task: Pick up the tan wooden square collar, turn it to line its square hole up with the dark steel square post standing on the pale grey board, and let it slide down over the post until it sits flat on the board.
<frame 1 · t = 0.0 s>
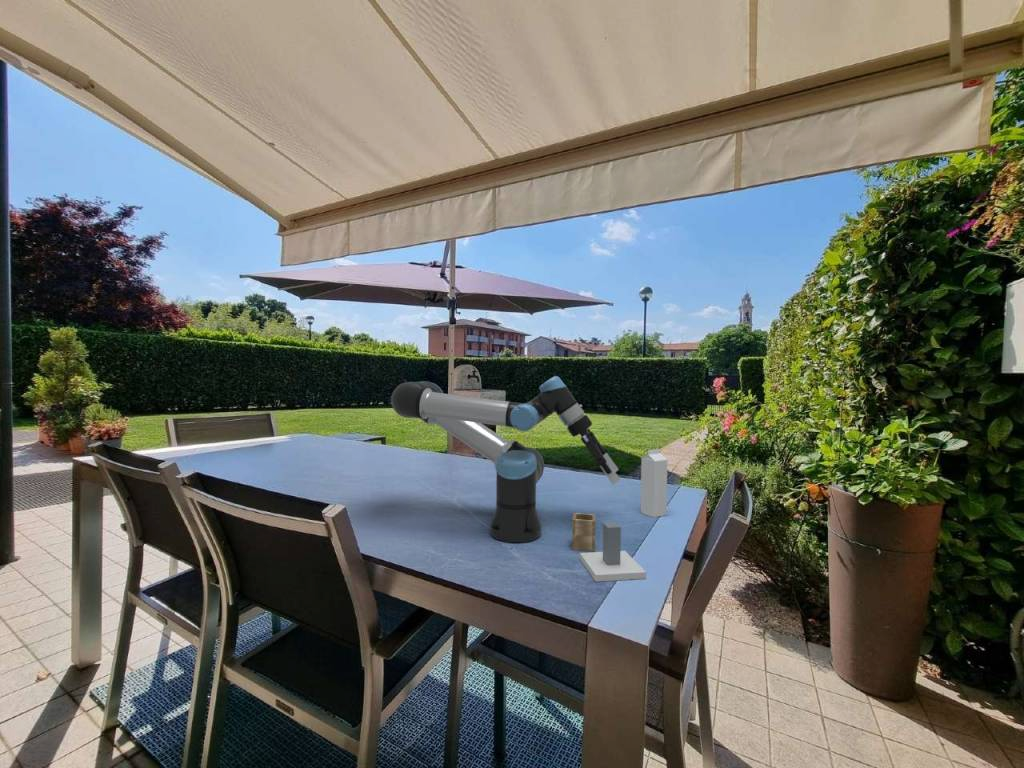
hand: (615, 476, 130), 15 cm above the table, tool tilted 35°, fingers open, 13 cm apart
collar: (583, 546, 114), on the table
post board: (611, 568, 101), on the table
milk: (653, 514, 142), on the table
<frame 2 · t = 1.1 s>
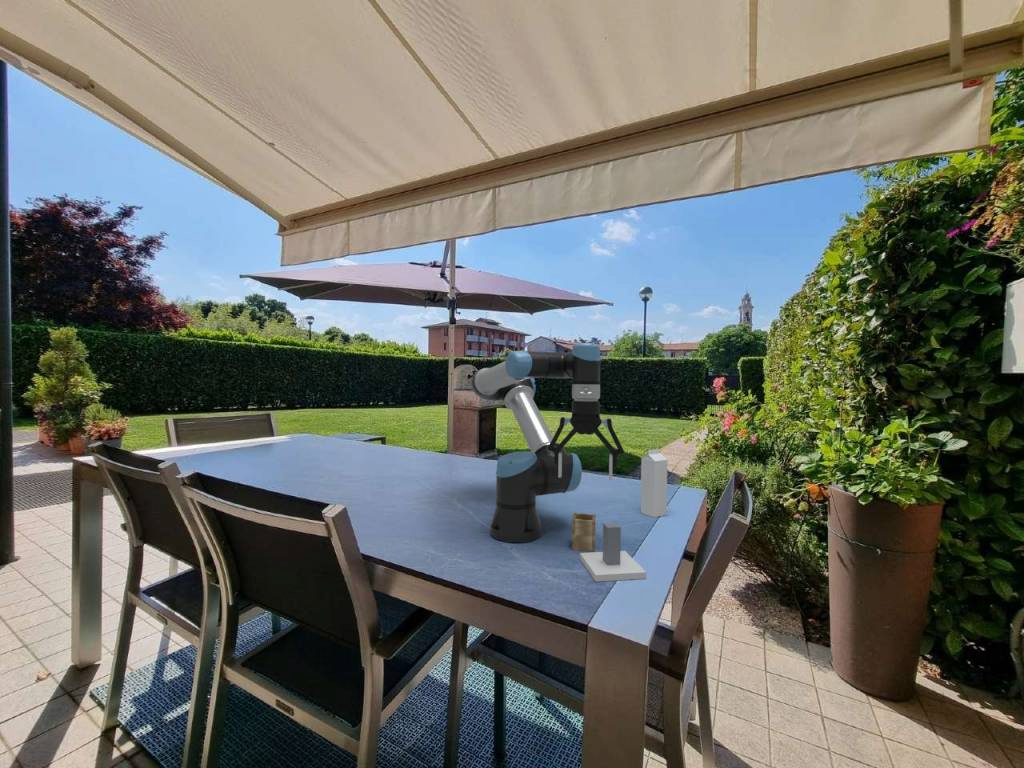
hand: (585, 477, 114), 19 cm above the table, tool pointing down, fingers open, 13 cm apart
nothing on the table moved.
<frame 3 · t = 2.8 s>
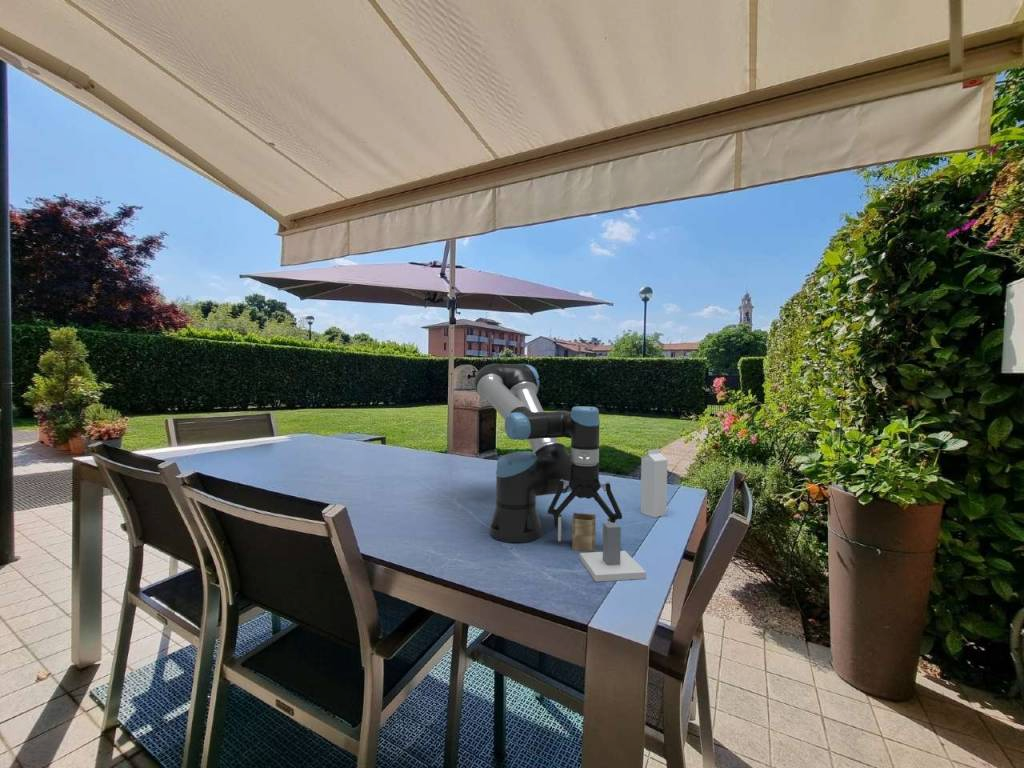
hand: (584, 541, 114), 1 cm above the table, tool pointing down, fingers open, 12 cm apart
nothing on the table moved.
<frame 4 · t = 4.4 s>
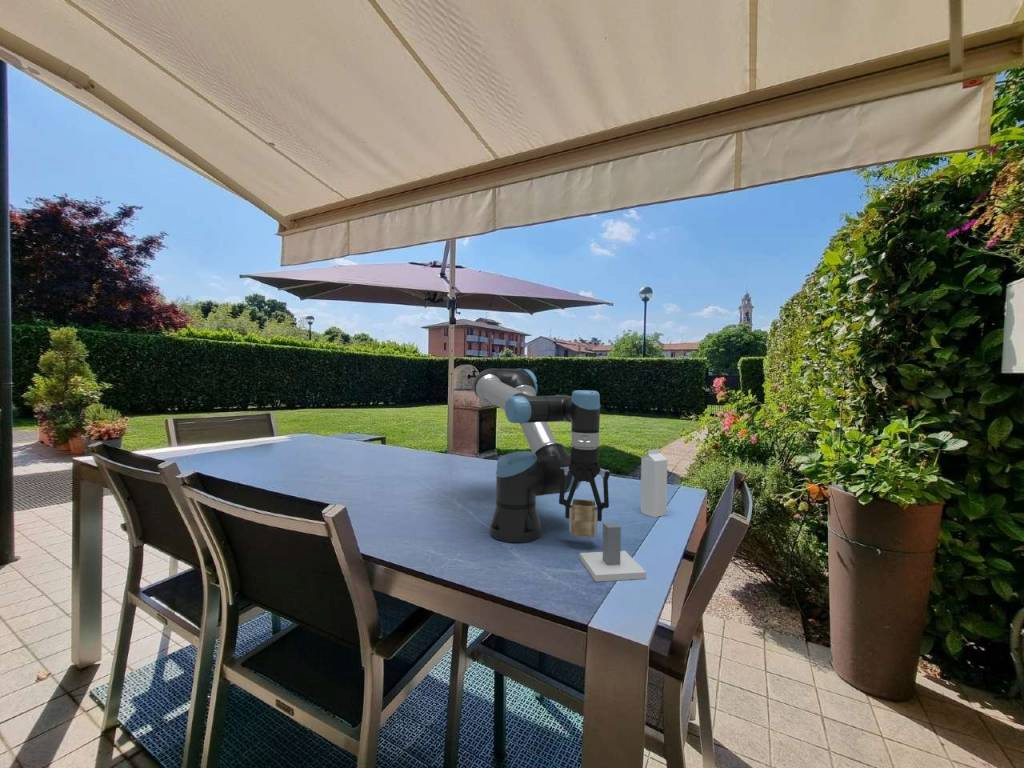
hand: (583, 530, 114), 4 cm above the table, tool pointing down, fingers closed on collar, 6 cm apart
collar: (583, 532, 115), point 4 cm above the table, touching gripper
everything else where it was.
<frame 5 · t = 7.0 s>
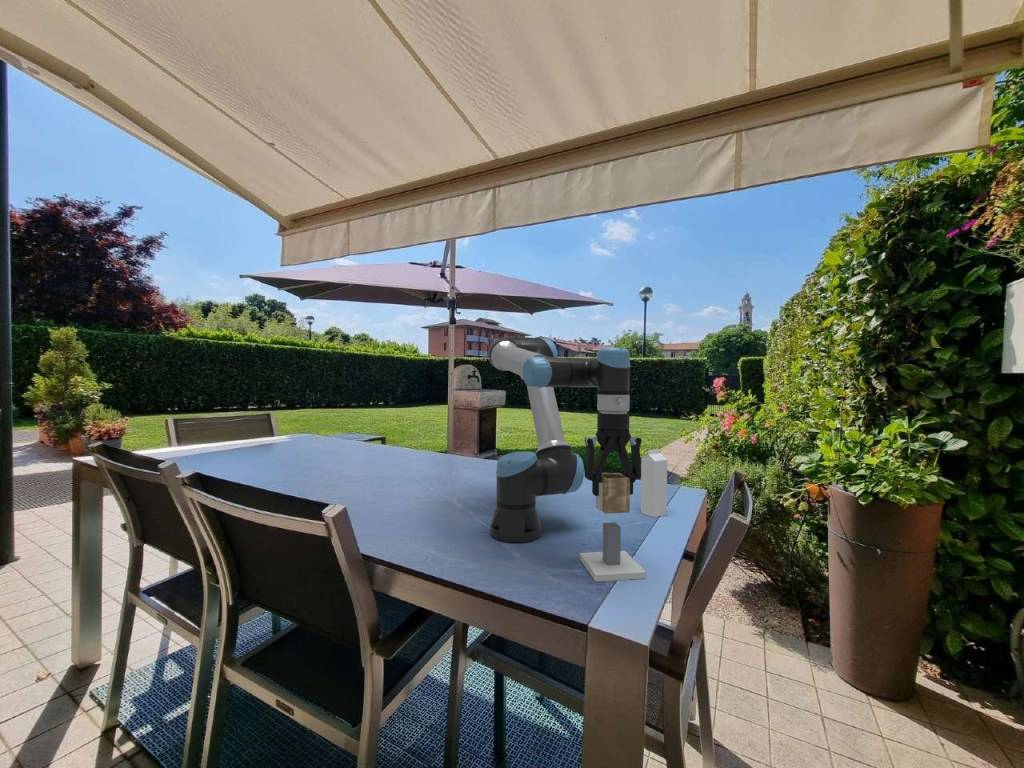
hand: (612, 508, 101), 15 cm above the table, tool pointing down, fingers closed on collar, 6 cm apart
collar: (612, 509, 101), point 14 cm above the table, touching gripper
everything else where it was.
when the fingers open (3 cm above the table, at t = 9.7 s): collar drops 2 cm, resting on post board.
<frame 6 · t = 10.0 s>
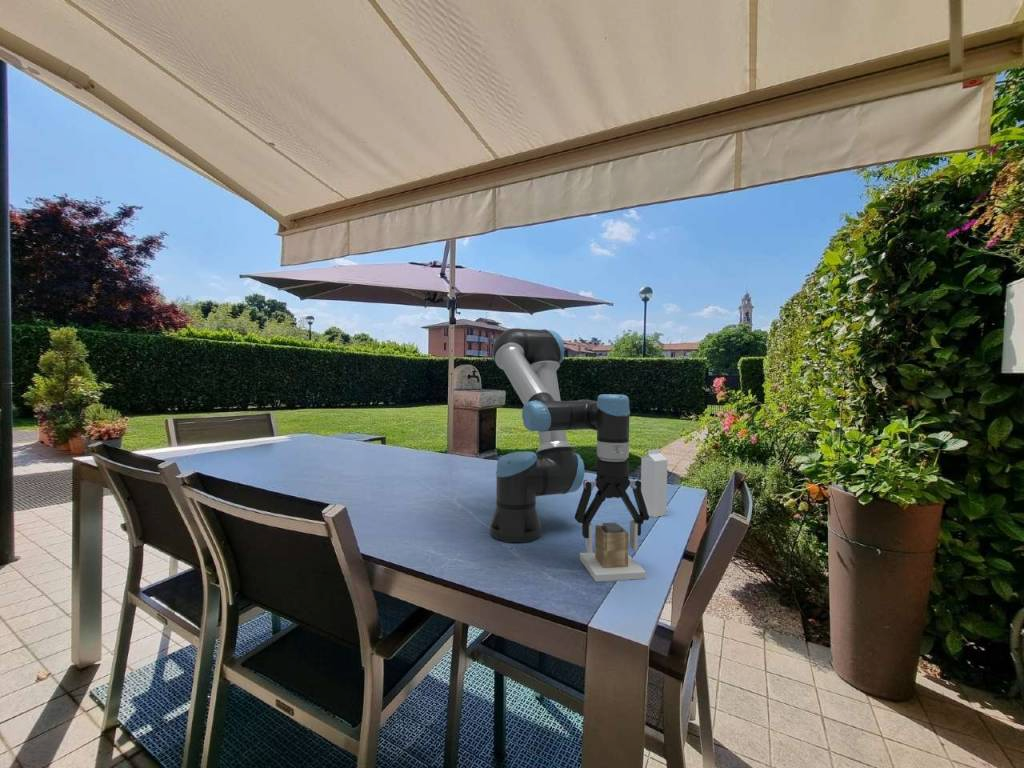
hand: (611, 549, 101), 4 cm above the table, tool pointing down, fingers open, 10 cm apart
collar: (611, 561, 101), point 1 cm above the table, touching post board
everything else where it was.
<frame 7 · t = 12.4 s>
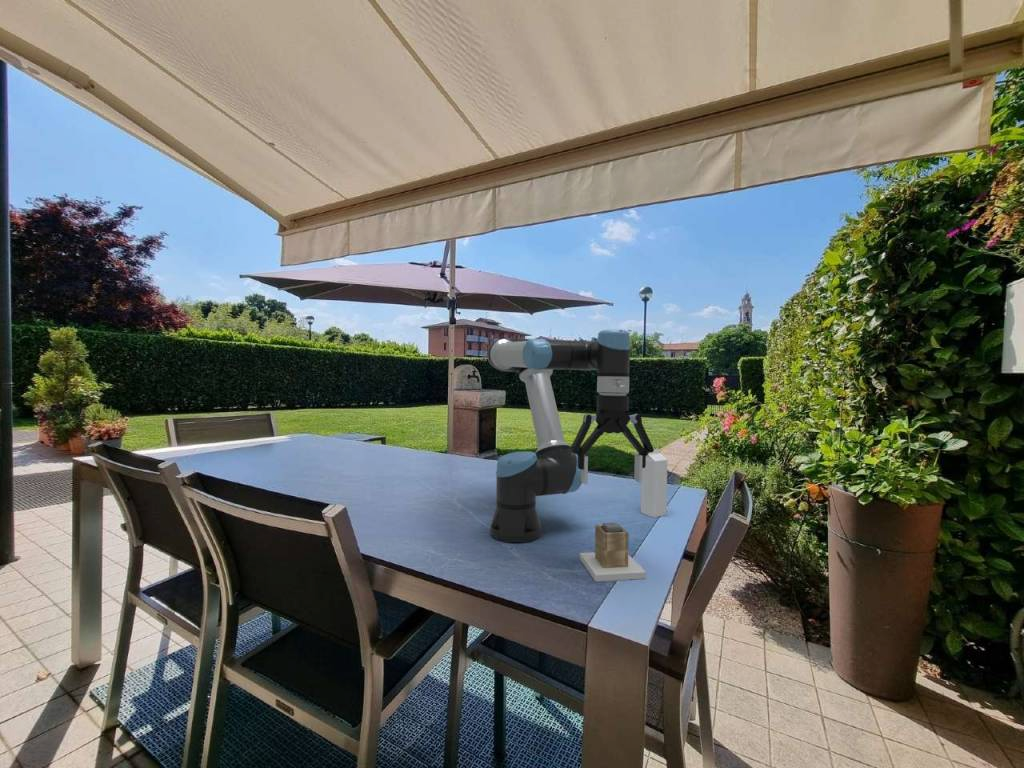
hand: (611, 482, 101), 21 cm above the table, tool pointing down, fingers open, 13 cm apart
nothing on the table moved.
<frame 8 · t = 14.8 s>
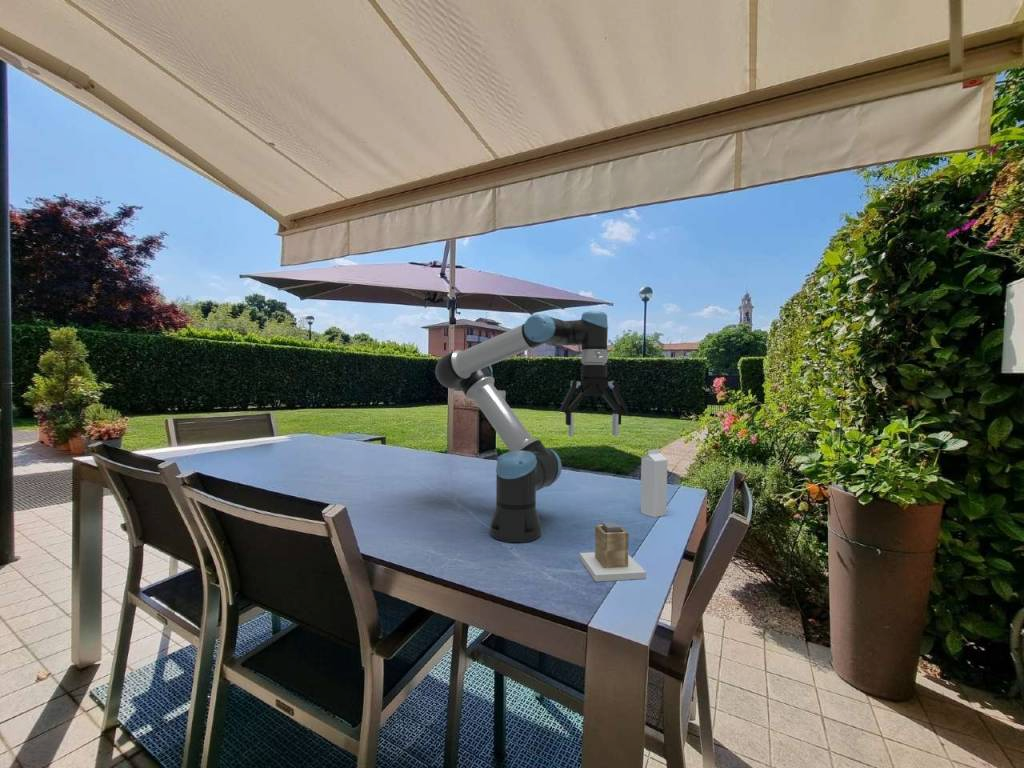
hand: (593, 436, 124), 29 cm above the table, tool pointing down, fingers open, 13 cm apart
nothing on the table moved.
at the end: collar 0.1 cm off-centre on the post board, point 1.5 cm above the post board's base; collar tilted 0°; the gripper is holding nothing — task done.
